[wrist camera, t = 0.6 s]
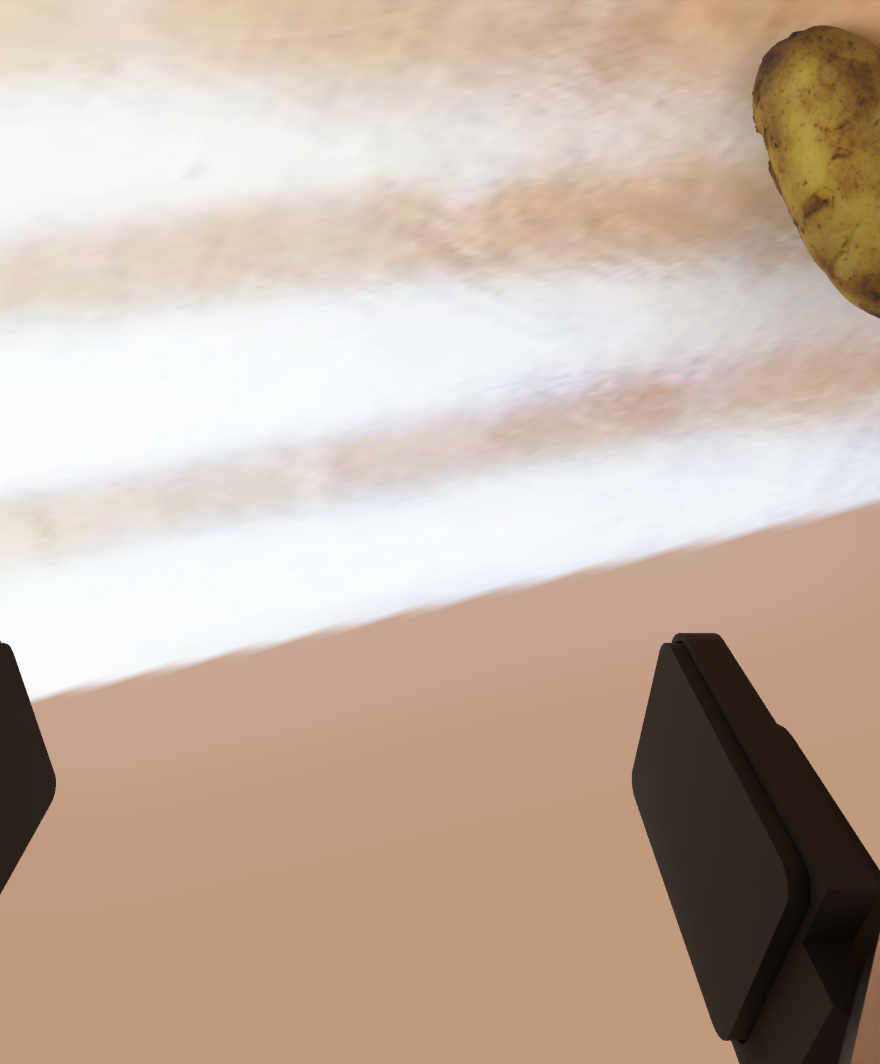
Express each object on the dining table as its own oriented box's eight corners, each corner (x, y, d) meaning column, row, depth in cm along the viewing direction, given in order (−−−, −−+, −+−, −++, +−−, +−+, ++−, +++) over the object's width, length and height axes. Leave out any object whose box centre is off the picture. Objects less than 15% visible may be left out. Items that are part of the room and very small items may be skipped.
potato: (909, -17, 31) (1055, -65, 24) (912, 270, 37) (1029, 298, 30) (723, 57, 32) (811, 32, 25) (756, 324, 38) (834, 363, 31)
